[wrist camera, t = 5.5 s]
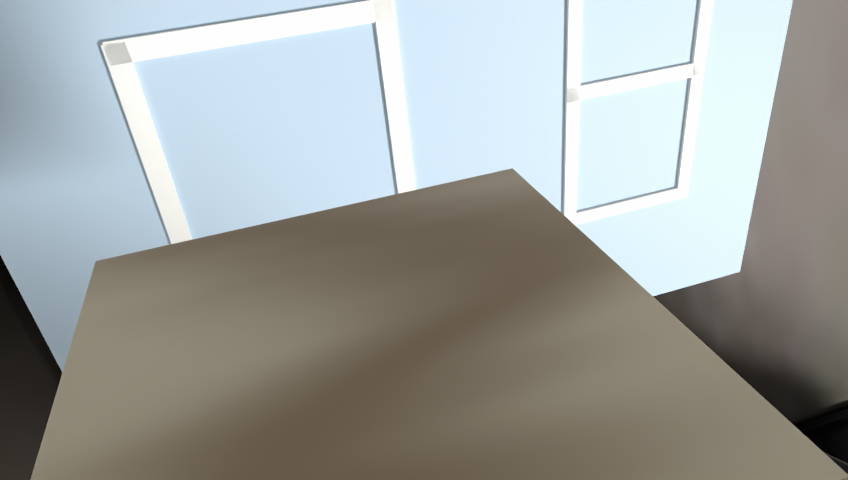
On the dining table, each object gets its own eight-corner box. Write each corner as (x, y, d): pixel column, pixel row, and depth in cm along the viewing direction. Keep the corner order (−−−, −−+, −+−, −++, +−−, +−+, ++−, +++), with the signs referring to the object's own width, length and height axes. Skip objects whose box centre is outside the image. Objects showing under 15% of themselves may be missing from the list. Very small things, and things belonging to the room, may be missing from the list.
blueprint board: (828, -288, 15) (853, -295, 15) (728, 263, 23) (741, 272, 23) (-226, -211, 11) (-252, -216, 10) (106, 436, 19) (103, 454, 18)
